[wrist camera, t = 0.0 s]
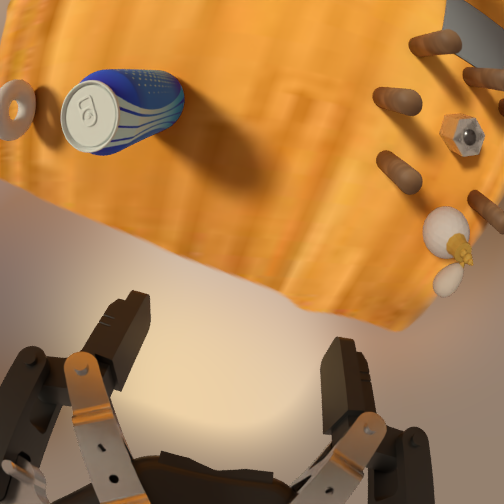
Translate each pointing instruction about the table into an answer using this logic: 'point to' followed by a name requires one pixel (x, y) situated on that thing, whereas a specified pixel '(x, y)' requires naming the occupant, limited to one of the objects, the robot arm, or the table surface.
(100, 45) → the table surface
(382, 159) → the post field
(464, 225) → the perfume bottle
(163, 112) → the beer can
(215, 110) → the table surface
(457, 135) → the nut
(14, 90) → the donut
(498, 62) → the felt mat
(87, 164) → the table surface
